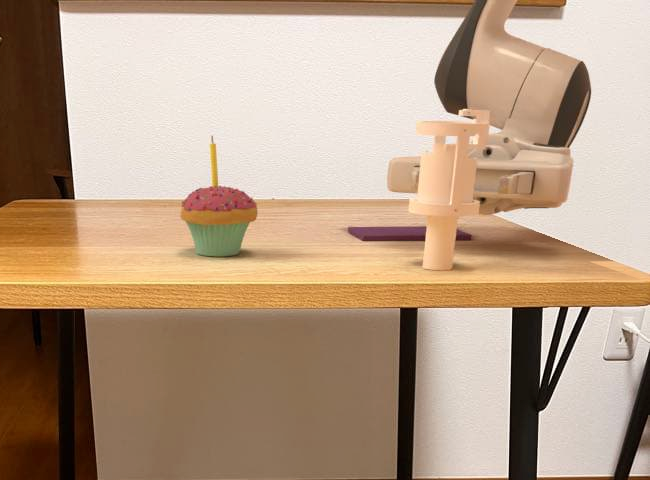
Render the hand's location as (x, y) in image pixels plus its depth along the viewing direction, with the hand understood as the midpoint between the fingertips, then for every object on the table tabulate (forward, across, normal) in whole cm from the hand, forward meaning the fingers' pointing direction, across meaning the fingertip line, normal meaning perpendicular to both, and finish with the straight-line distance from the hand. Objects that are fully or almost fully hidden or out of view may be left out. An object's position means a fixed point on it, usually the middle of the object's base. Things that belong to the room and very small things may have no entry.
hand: (460, 182), depth 93 cm
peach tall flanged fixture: (+5, 0, +8) cm, 10 cm away
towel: (-16, -10, +8) cm, 20 cm away
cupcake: (+9, -24, +8) cm, 27 cm away
